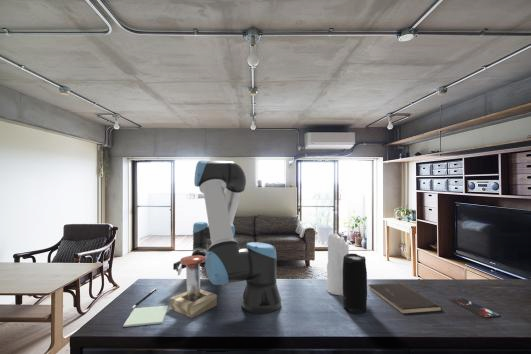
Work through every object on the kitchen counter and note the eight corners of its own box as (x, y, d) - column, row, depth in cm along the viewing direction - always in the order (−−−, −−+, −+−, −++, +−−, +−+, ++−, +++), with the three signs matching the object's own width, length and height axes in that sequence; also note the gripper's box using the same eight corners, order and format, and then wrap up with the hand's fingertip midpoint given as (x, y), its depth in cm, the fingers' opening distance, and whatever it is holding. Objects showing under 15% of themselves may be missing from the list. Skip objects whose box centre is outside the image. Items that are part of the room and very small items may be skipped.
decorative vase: (348, 285, 121) (348, 230, 122) (354, 295, 111) (353, 235, 111) (324, 285, 122) (324, 230, 123) (327, 294, 112) (327, 234, 112)
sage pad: (168, 307, 101) (168, 305, 101) (162, 323, 89) (162, 321, 89) (134, 309, 99) (134, 308, 99) (123, 327, 87) (123, 325, 87)
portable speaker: (345, 315, 94) (344, 259, 95) (340, 303, 104) (340, 252, 104) (370, 316, 94) (369, 259, 94) (363, 304, 103) (362, 252, 103)
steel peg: (211, 305, 102) (209, 257, 103) (192, 314, 95) (191, 263, 95) (195, 299, 107) (194, 254, 108) (176, 308, 100) (175, 259, 101)
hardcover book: (401, 315, 95) (401, 308, 95) (368, 289, 118) (368, 284, 118) (442, 312, 97) (442, 305, 98) (401, 287, 120) (401, 282, 120)
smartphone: (462, 297, 108) (501, 315, 93) (462, 299, 108) (502, 317, 93) (447, 299, 106) (484, 317, 92) (447, 301, 106) (485, 319, 92)
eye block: (216, 304, 103) (216, 294, 103) (192, 318, 93) (192, 306, 93) (195, 297, 110) (195, 287, 110) (170, 308, 100) (170, 298, 100)
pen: (158, 289, 119) (158, 286, 119) (133, 309, 100) (133, 306, 100) (156, 289, 119) (156, 286, 119) (131, 309, 100) (131, 306, 100)
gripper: (224, 263, 134) (226, 278, 113) (172, 266, 129) (164, 282, 108) (224, 248, 134) (226, 260, 113) (172, 250, 130) (164, 263, 109)
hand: (195, 270), depth 111 cm, fingers open, 13 cm apart
